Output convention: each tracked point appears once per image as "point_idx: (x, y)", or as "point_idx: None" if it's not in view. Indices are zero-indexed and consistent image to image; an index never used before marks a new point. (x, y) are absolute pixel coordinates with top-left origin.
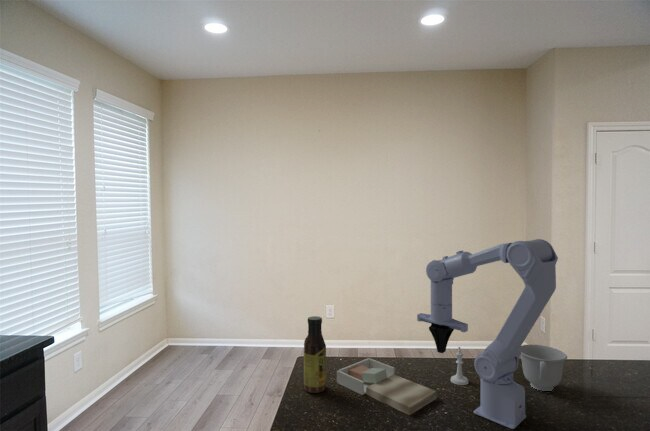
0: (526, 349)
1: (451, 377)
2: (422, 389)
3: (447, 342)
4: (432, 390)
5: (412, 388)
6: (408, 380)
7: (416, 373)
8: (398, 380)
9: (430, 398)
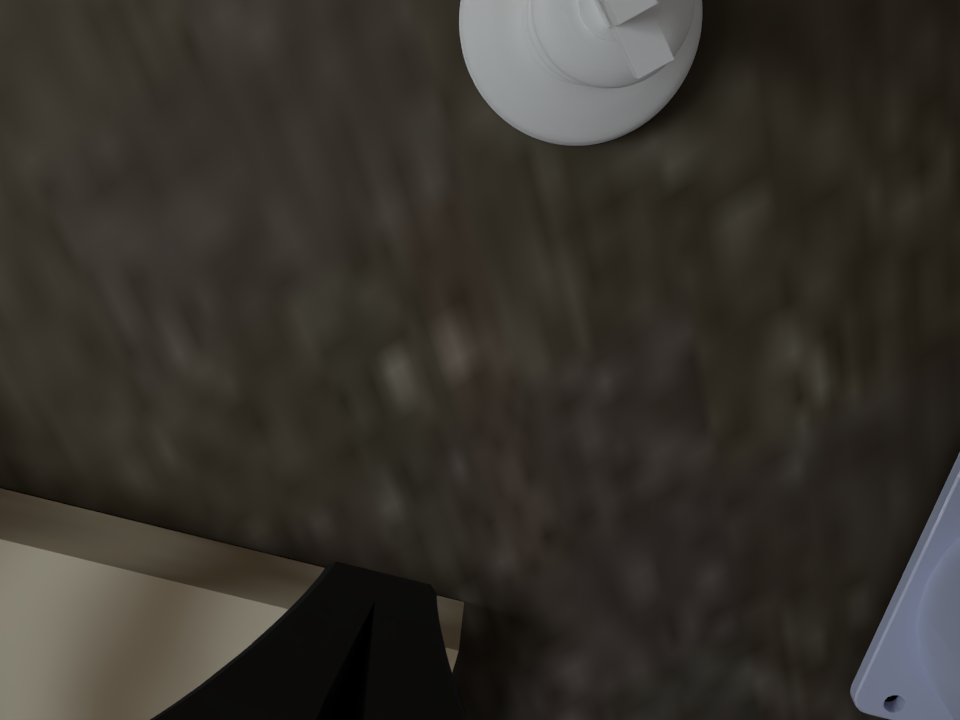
0: None
1: (473, 50)
2: None
3: (460, 715)
4: None
5: None
6: (91, 568)
7: (7, 107)
8: (4, 623)
9: None
